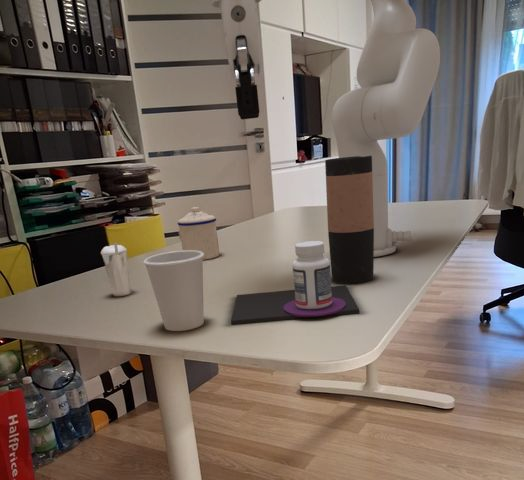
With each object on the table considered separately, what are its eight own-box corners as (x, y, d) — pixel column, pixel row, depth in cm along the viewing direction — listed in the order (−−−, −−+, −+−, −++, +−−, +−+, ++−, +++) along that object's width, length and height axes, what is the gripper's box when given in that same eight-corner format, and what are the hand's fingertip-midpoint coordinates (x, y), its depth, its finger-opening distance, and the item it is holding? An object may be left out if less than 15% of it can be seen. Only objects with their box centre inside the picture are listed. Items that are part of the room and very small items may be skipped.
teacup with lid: (228, 254, 125) (222, 204, 121) (198, 262, 119) (191, 210, 115) (197, 251, 133) (191, 204, 129) (168, 258, 128) (160, 210, 123)
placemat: (345, 288, 86) (345, 283, 85) (361, 316, 71) (361, 310, 71) (237, 298, 87) (236, 293, 86) (230, 328, 72) (229, 321, 72)
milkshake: (113, 299, 94) (102, 244, 90) (107, 294, 98) (96, 241, 95) (138, 294, 96) (128, 240, 92) (131, 289, 100) (121, 237, 97)
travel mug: (326, 284, 89) (319, 161, 82) (335, 273, 96) (330, 158, 89) (371, 284, 87) (368, 156, 79) (378, 273, 93) (375, 154, 86)
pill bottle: (333, 299, 77) (330, 238, 74) (331, 309, 73) (328, 245, 69) (297, 300, 78) (293, 241, 75) (293, 311, 74) (288, 248, 70)
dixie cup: (163, 338, 71) (150, 265, 67) (150, 323, 78) (137, 256, 74) (220, 325, 73) (211, 255, 70) (203, 312, 81) (193, 247, 77)
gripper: (261, -31, 69) (274, 111, 75) (260, 2, 85) (271, 117, 91) (205, -24, 69) (223, 117, 75) (214, 8, 85) (228, 122, 91)
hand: (249, 117), depth 83 cm, fingers open, 9 cm apart
